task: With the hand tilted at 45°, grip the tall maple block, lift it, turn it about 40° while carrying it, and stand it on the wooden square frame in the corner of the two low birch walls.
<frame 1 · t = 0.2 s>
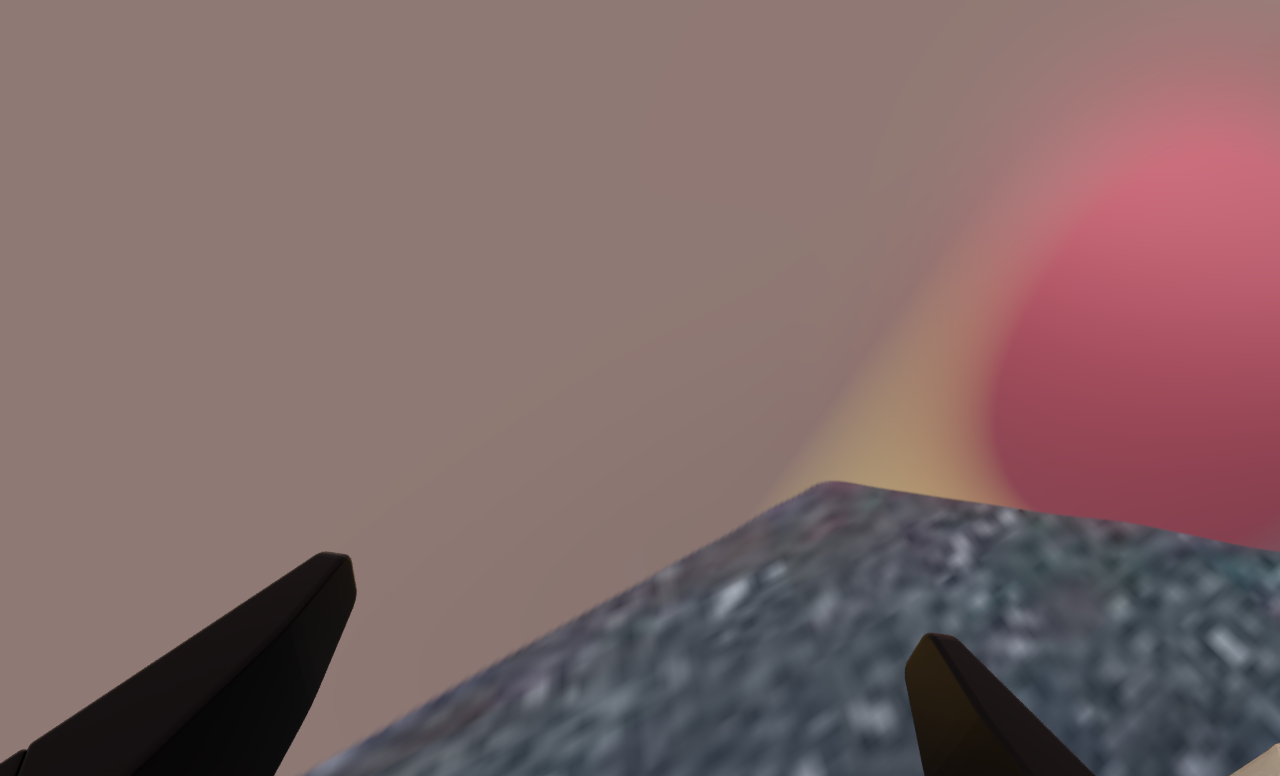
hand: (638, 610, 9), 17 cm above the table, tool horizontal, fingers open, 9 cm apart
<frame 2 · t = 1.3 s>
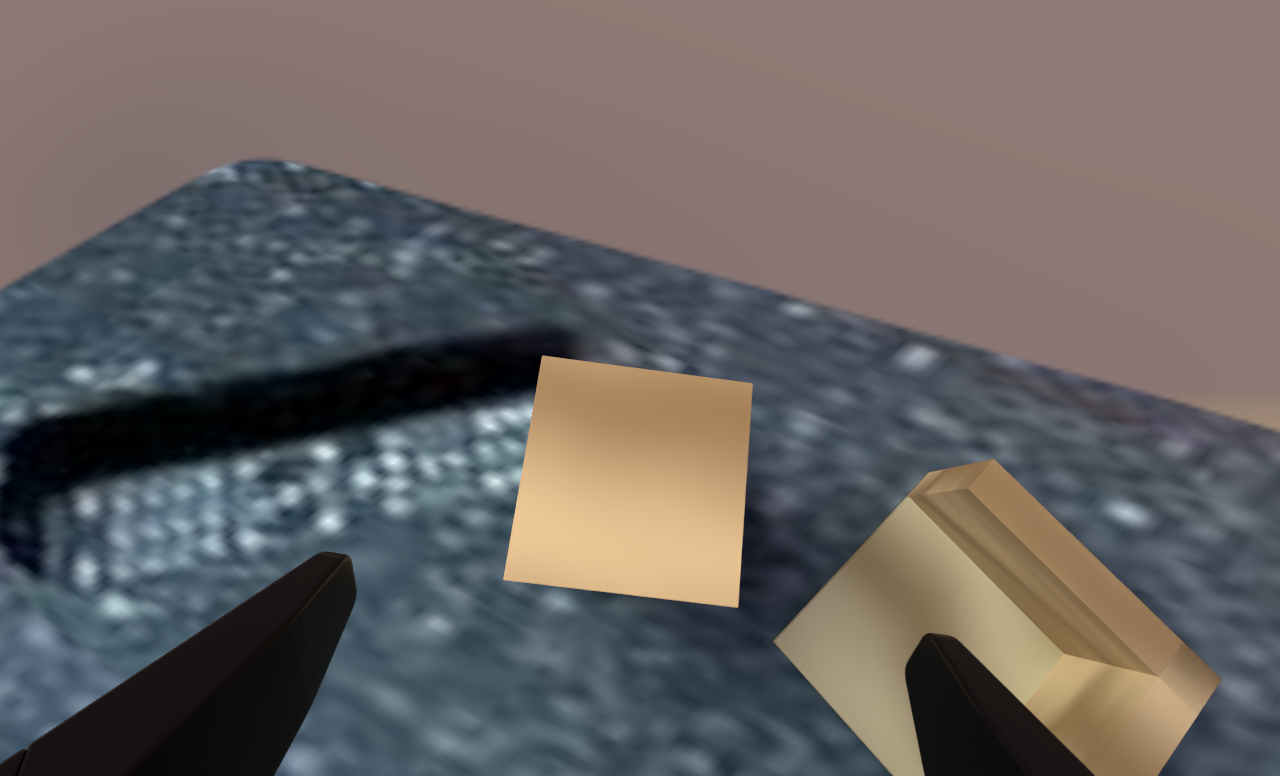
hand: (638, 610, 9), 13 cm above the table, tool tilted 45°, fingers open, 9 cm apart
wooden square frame: (918, 647, 21), on the table
maple block: (620, 503, 22), on the table
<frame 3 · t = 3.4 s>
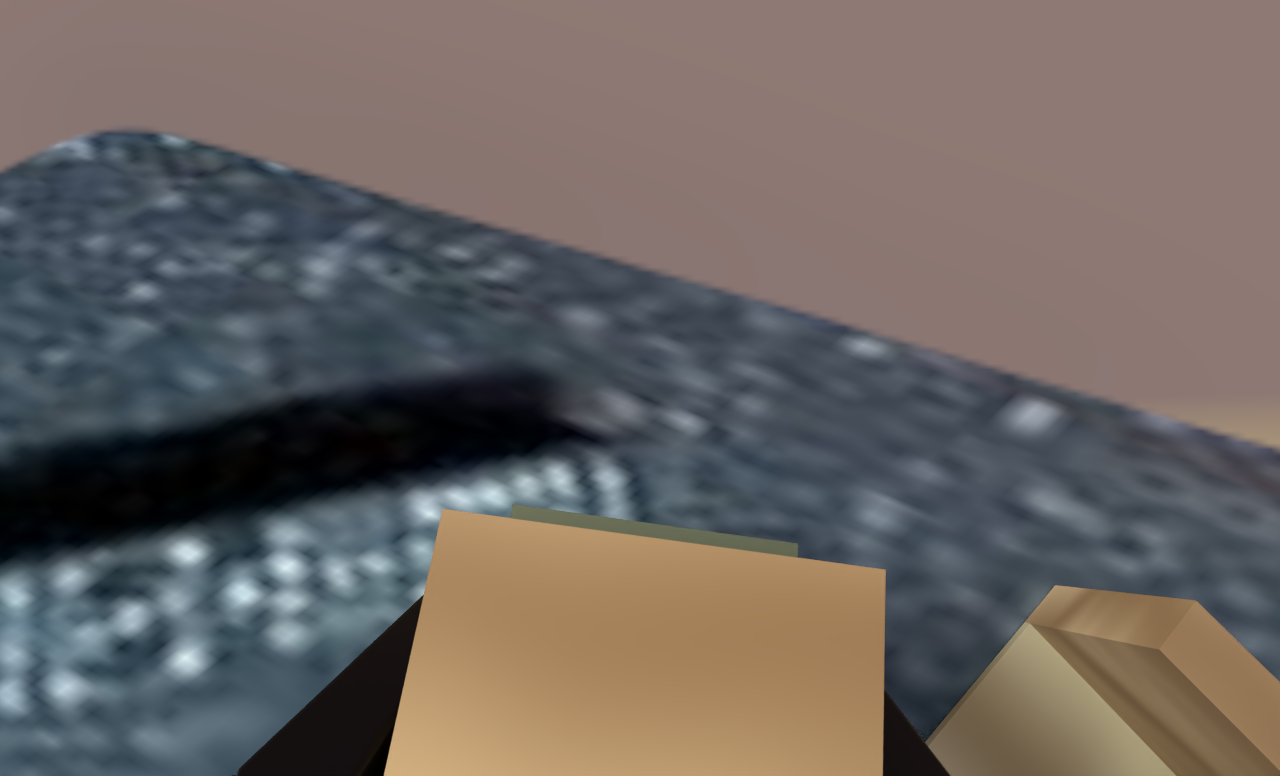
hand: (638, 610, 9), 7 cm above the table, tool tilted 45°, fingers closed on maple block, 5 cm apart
maple block: (615, 631, 15), on the table, touching gripper
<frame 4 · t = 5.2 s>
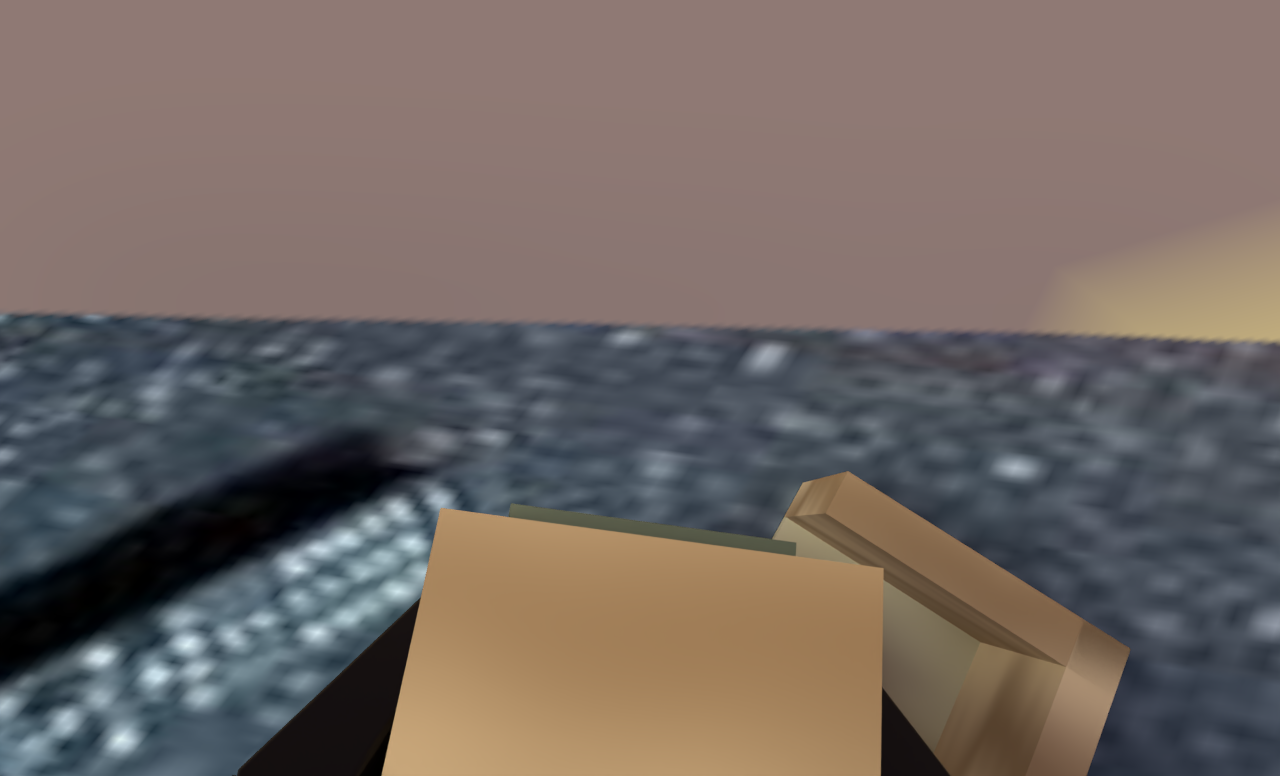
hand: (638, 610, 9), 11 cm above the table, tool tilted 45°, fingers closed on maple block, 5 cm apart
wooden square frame: (828, 680, 19), on the table
maple block: (614, 631, 15), point 4 cm above the table, touching gripper
when the fingers open (9 cm above the table, at t = 7.1 s): maple block drops 1 cm, resting on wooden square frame.
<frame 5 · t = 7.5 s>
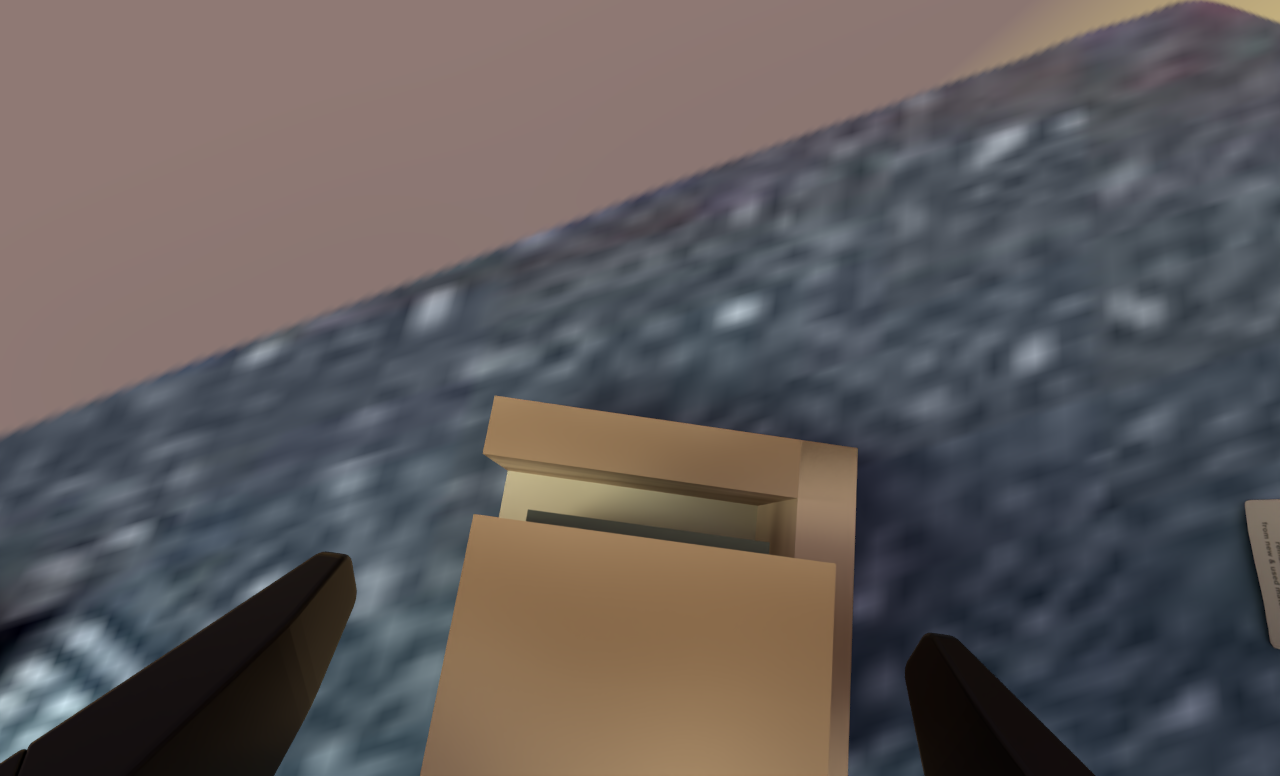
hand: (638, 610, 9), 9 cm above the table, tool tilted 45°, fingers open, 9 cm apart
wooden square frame: (615, 621, 17), on the table
maple block: (615, 623, 17), resting on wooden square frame
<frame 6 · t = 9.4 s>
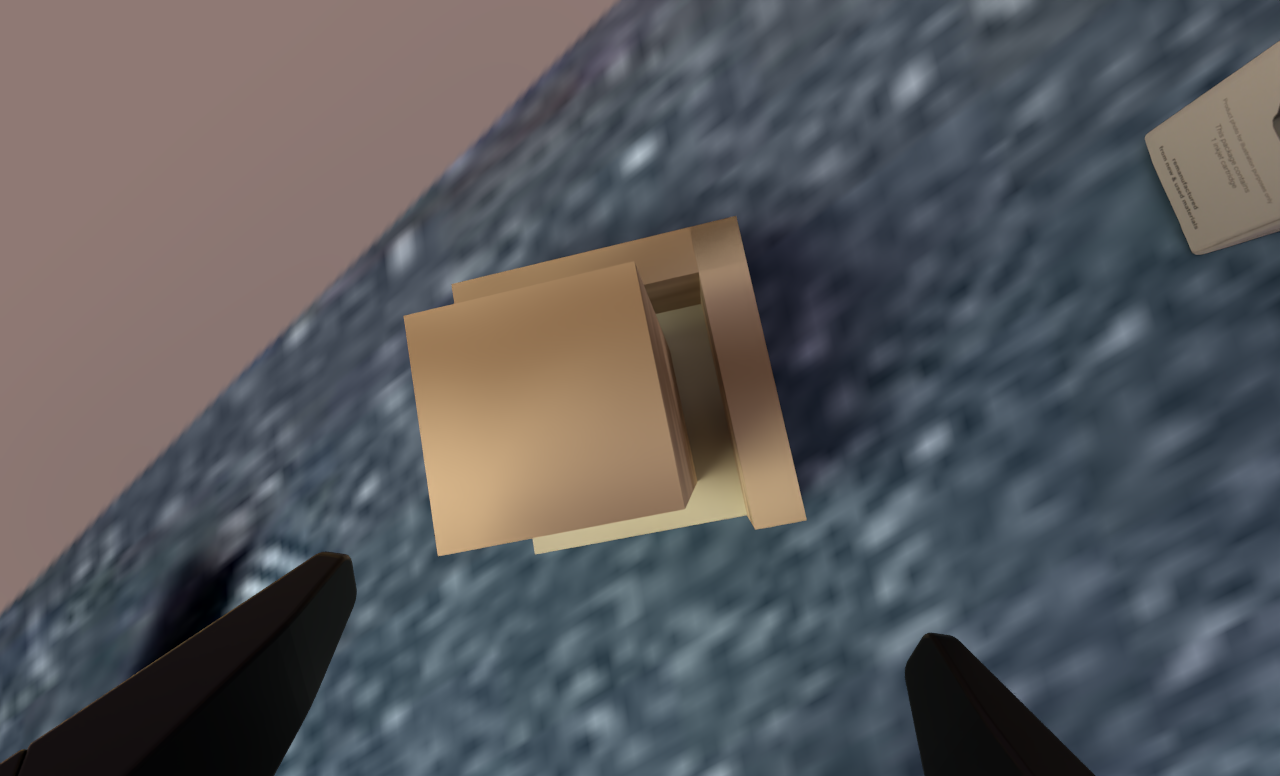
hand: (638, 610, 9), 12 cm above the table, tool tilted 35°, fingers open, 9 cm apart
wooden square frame: (619, 428, 21), on the table
maple block: (618, 428, 21), resting on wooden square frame
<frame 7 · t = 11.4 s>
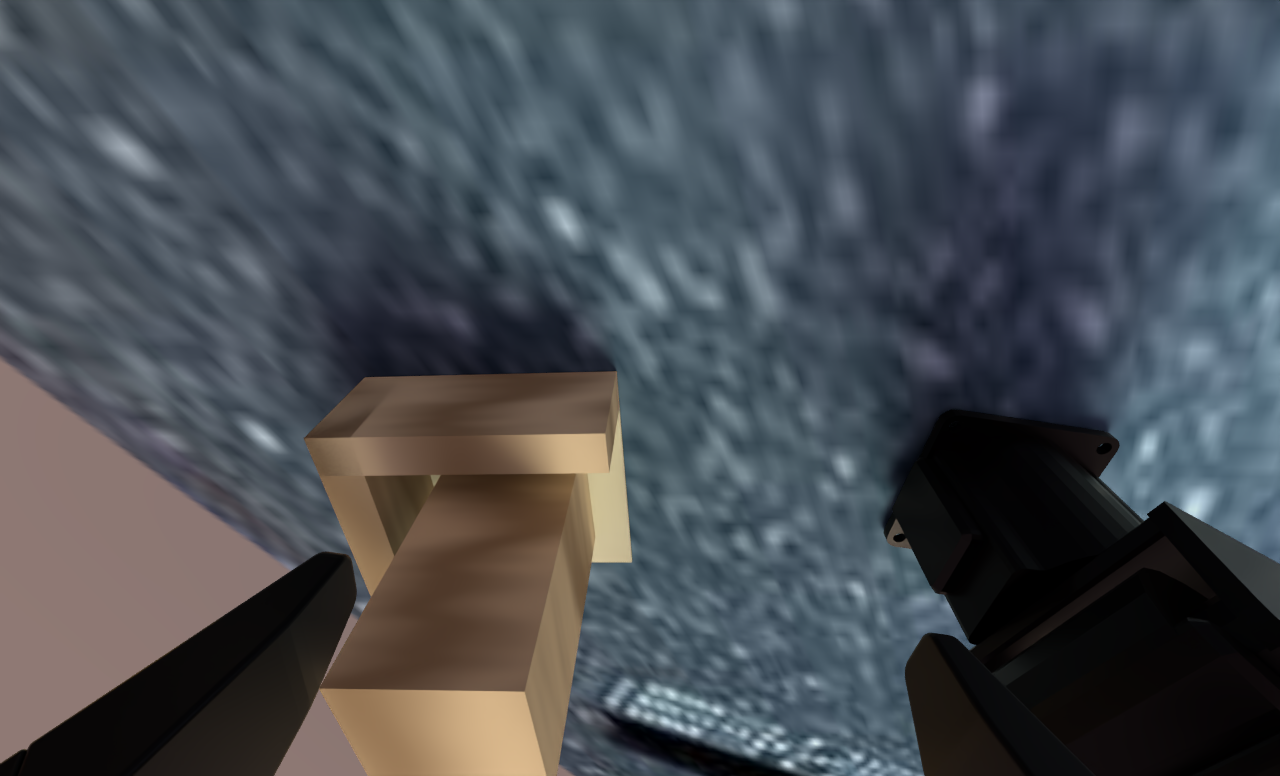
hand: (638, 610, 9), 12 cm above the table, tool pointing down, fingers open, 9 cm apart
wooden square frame: (530, 490, 23), on the table
maple block: (529, 493, 23), resting on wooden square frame
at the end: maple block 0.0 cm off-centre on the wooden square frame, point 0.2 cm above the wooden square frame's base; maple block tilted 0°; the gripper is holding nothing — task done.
